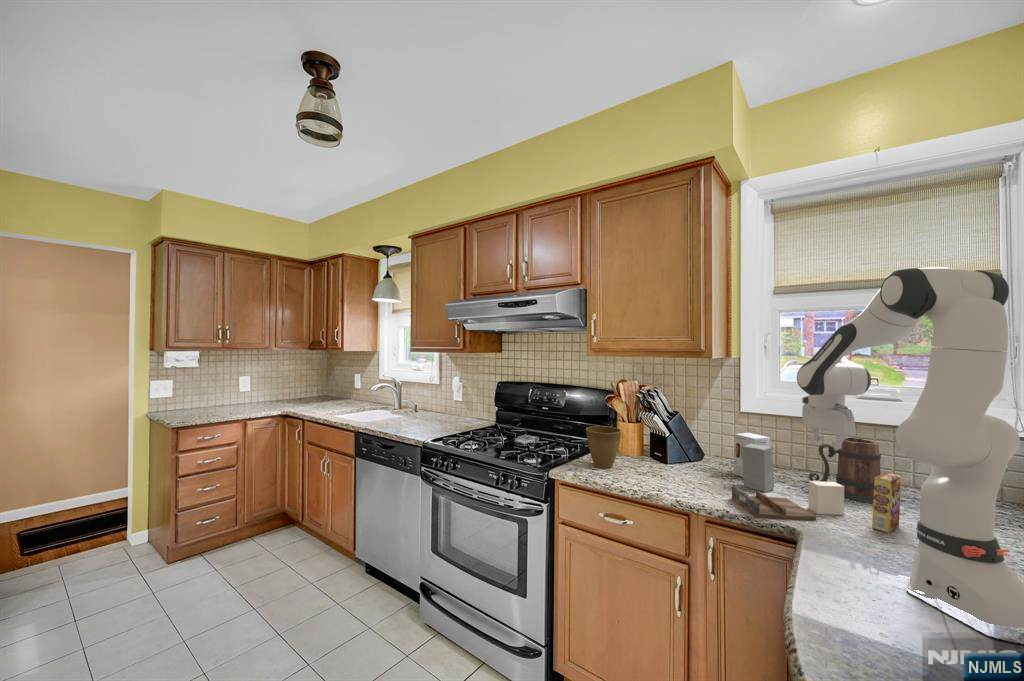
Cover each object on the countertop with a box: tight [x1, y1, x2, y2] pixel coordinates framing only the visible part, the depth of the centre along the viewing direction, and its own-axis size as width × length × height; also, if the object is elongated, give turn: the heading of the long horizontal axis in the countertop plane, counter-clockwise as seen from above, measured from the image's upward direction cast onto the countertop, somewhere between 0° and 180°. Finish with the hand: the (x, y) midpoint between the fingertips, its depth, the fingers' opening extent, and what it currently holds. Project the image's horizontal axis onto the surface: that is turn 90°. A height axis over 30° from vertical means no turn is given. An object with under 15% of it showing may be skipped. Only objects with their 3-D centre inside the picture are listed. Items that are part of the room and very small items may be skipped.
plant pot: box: [585, 425, 622, 470], centre depth 184 cm, size 15×15×16 cm
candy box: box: [871, 472, 902, 534], centre depth 126 cm, size 9×4×15 cm, turn 123°
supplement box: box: [733, 432, 771, 478], centre depth 174 cm, size 10×9×17 cm
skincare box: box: [742, 444, 775, 493], centre depth 160 cm, size 8×7×16 cm
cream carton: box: [808, 480, 845, 516], centre depth 138 cm, size 5×8×9 cm, turn 86°
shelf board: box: [731, 485, 817, 521], centre depth 139 cm, size 16×18×4 cm
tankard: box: [808, 437, 882, 505], centre depth 155 cm, size 24×17×20 cm
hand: (826, 444), depth 138 cm, fingers open, 8 cm apart
